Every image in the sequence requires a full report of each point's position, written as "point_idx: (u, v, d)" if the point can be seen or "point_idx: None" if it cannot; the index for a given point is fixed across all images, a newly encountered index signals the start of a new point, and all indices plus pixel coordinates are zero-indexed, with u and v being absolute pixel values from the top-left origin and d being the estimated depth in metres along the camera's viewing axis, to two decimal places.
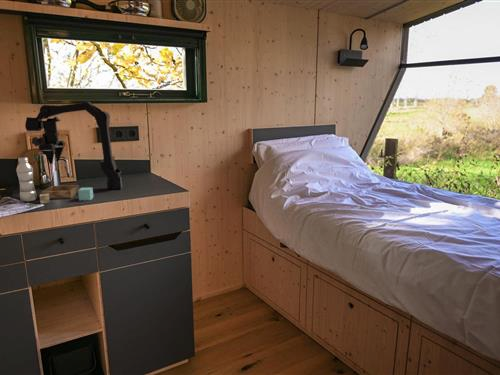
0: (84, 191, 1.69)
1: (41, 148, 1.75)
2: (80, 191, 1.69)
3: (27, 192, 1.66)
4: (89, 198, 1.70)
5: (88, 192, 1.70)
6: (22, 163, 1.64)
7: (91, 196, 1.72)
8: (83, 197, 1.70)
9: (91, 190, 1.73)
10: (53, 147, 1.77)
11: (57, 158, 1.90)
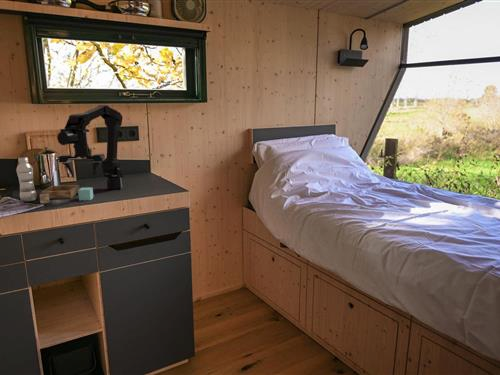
0: (84, 191, 1.69)
1: None
2: (80, 191, 1.69)
3: (27, 192, 1.66)
4: (89, 198, 1.70)
5: (88, 192, 1.70)
6: (22, 163, 1.64)
7: (91, 196, 1.72)
8: (82, 197, 1.70)
9: (91, 190, 1.73)
10: (62, 160, 1.65)
11: None
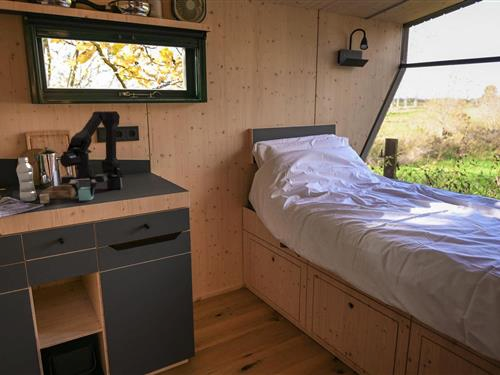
0: (84, 191, 1.69)
1: None
2: (80, 191, 1.69)
3: (27, 192, 1.66)
4: (89, 198, 1.70)
5: (88, 192, 1.70)
6: (22, 163, 1.64)
7: None
8: (82, 197, 1.70)
9: None
10: (65, 181, 1.67)
11: None
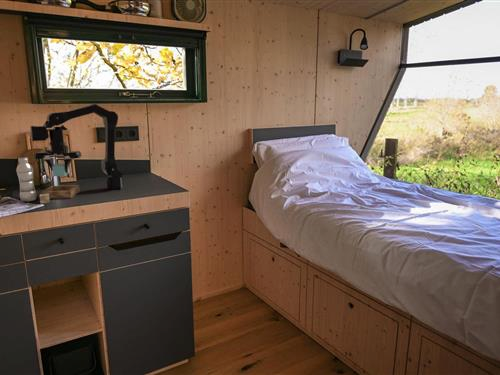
0: (58, 167, 1.73)
1: None
2: (54, 167, 1.73)
3: (27, 192, 1.66)
4: (63, 174, 1.74)
5: (62, 168, 1.73)
6: (22, 163, 1.64)
7: (65, 172, 1.76)
8: (57, 173, 1.73)
9: None
10: (39, 156, 1.70)
11: None
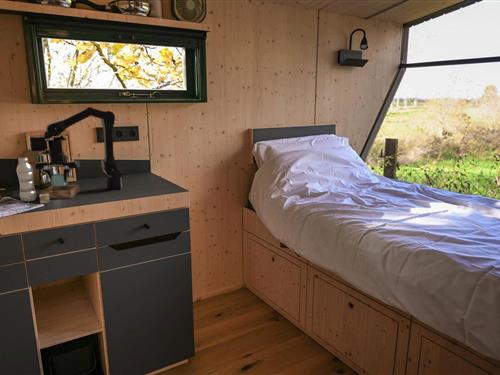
0: (57, 177, 1.75)
1: None
2: (54, 177, 1.75)
3: (27, 192, 1.66)
4: (62, 183, 1.76)
5: (61, 178, 1.75)
6: (22, 163, 1.64)
7: None
8: (56, 183, 1.75)
9: None
10: (38, 167, 1.72)
11: None
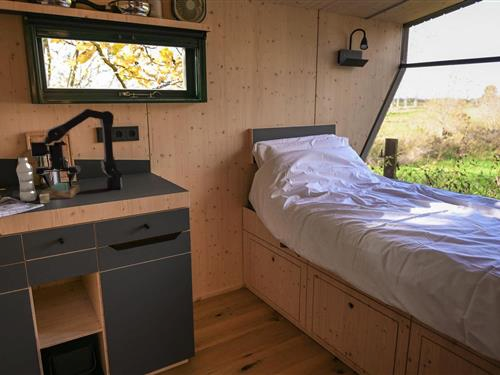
0: (58, 186, 1.76)
1: None
2: (55, 187, 1.76)
3: (27, 192, 1.66)
4: None
5: (62, 187, 1.76)
6: (22, 163, 1.64)
7: None
8: None
9: (66, 185, 1.79)
10: (39, 172, 1.73)
11: None
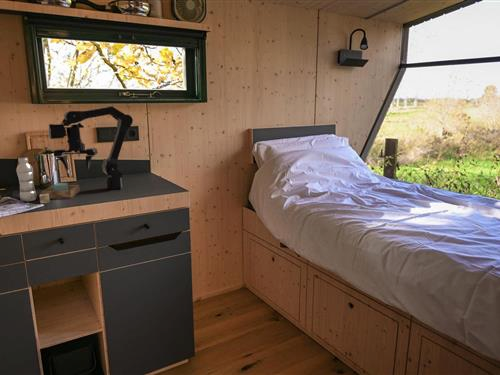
0: (58, 186, 1.76)
1: None
2: (55, 187, 1.76)
3: (27, 192, 1.66)
4: None
5: (62, 187, 1.76)
6: (22, 163, 1.64)
7: None
8: None
9: (66, 185, 1.79)
10: (57, 154, 1.75)
11: None
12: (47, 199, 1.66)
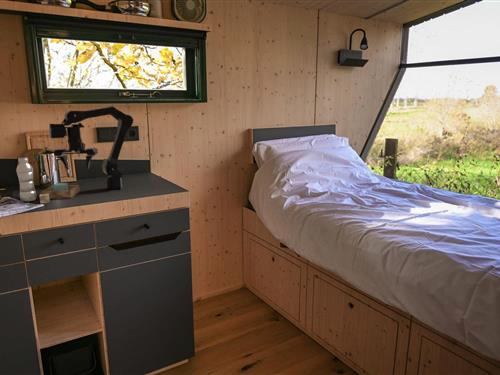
0: (58, 186, 1.76)
1: None
2: (55, 187, 1.76)
3: (27, 192, 1.66)
4: None
5: (62, 187, 1.76)
6: (22, 163, 1.64)
7: None
8: None
9: (66, 185, 1.79)
10: (57, 153, 1.75)
11: None
12: (47, 199, 1.66)
